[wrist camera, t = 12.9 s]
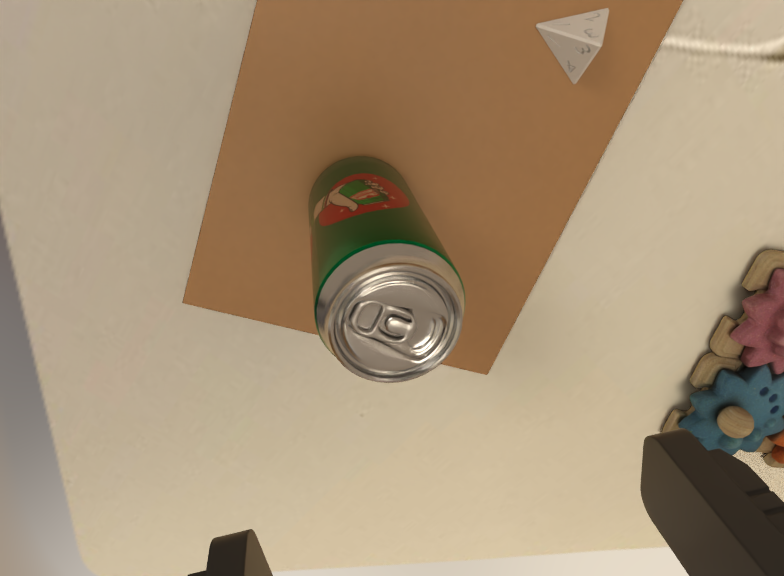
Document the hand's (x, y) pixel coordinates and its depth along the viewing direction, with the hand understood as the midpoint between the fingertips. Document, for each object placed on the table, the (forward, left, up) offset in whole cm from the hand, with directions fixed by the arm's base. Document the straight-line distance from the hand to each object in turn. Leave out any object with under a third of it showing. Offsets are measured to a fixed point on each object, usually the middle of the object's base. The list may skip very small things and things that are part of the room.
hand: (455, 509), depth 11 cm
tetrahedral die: (+7, +10, -19) cm, 23 cm away
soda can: (0, 0, -19) cm, 19 cm away
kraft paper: (+2, +3, -19) cm, 20 cm away
